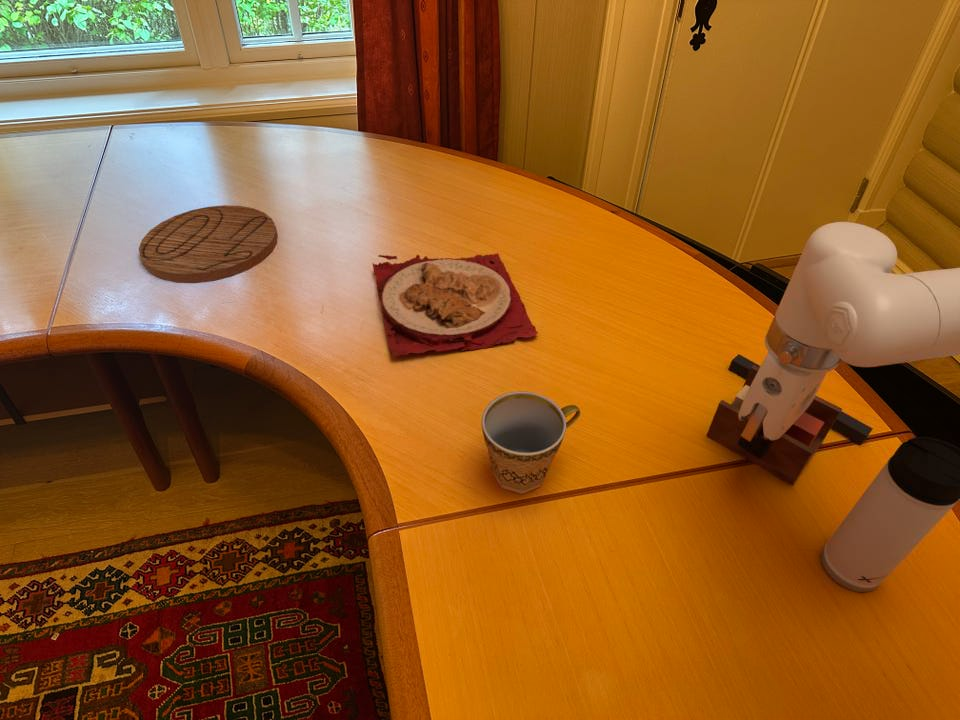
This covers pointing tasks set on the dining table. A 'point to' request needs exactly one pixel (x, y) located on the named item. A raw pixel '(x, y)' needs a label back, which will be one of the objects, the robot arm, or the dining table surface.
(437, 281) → the plate with food
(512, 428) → the ceramic cup
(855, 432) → the edge rail
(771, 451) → the open wooden box
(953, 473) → the travel mug
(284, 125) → the dining table surface
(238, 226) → the trivet
